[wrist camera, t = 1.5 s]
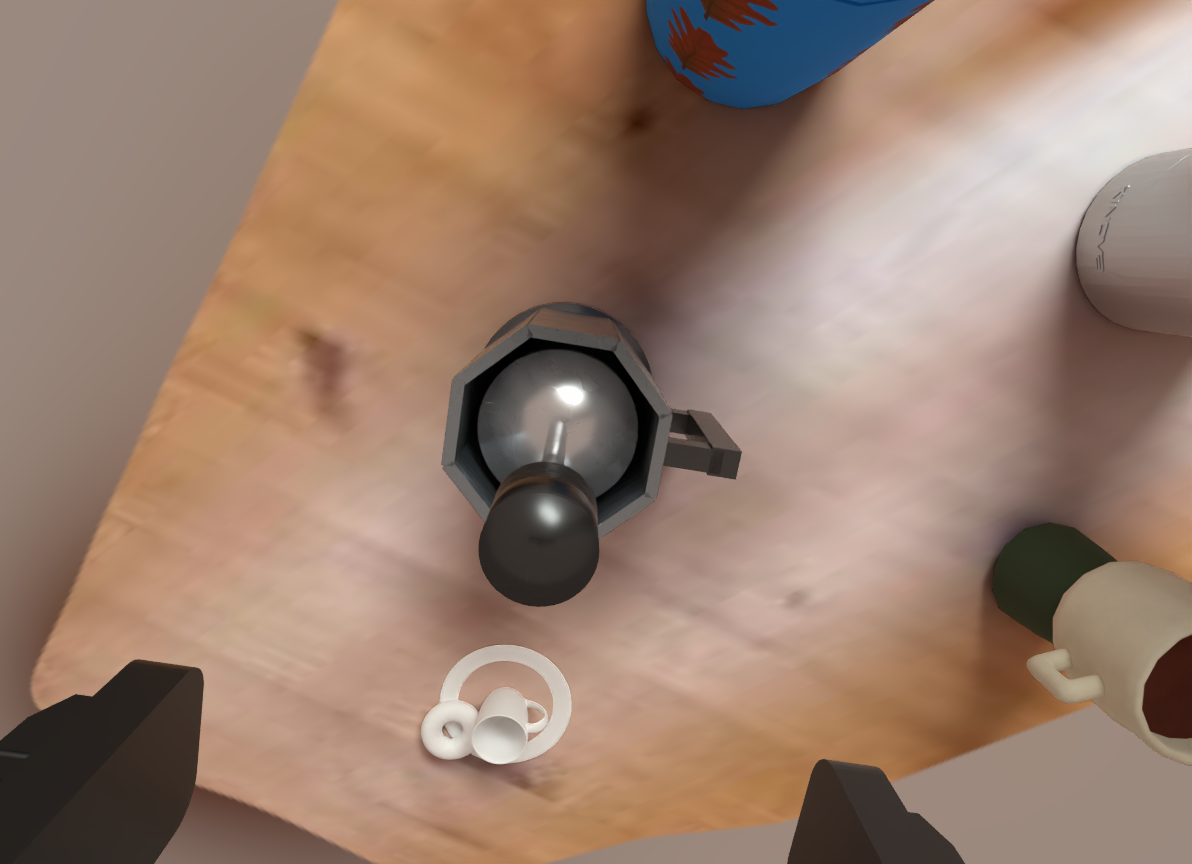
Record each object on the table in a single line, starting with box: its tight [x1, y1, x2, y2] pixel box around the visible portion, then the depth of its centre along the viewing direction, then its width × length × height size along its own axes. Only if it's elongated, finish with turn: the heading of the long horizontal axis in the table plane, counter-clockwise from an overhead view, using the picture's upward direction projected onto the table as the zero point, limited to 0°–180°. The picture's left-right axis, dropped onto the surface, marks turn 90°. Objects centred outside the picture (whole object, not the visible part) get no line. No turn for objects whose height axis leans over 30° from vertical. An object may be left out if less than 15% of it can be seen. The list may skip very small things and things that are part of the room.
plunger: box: [478, 348, 638, 607], centre depth 26 cm, size 7×7×14 cm
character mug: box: [992, 523, 1192, 766], centre depth 38 cm, size 11×7×13 cm, turn 105°
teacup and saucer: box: [421, 645, 572, 764], centre depth 45 cm, size 9×8×4 cm
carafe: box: [441, 302, 742, 539], centre depth 36 cm, size 12×10×12 cm
